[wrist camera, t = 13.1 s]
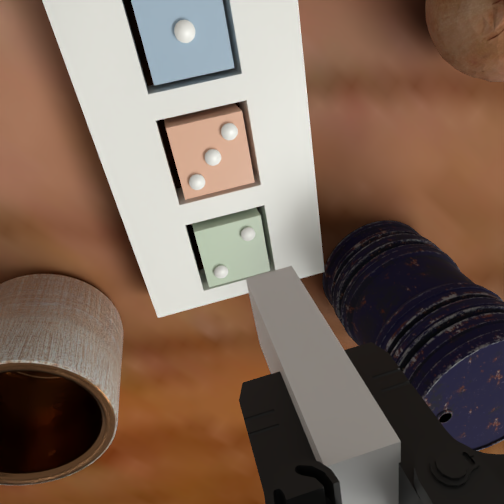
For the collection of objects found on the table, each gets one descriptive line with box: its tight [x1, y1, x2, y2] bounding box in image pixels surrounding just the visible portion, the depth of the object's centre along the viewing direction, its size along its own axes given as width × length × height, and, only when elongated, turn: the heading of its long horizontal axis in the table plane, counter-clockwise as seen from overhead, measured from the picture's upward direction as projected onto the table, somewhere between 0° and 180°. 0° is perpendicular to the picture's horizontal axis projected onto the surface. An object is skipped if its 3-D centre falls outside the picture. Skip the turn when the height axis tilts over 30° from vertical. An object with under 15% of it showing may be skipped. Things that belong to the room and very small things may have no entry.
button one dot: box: [131, 0, 234, 86], centre depth 25 cm, size 5×5×3 cm
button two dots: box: [192, 207, 270, 287], centre depth 32 cm, size 5×5×3 cm
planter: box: [0, 273, 123, 485], centre depth 30 cm, size 11×11×10 cm
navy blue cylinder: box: [323, 221, 504, 451], centre depth 32 cm, size 10×10×15 cm
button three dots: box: [164, 103, 255, 200], centre depth 28 cm, size 5×5×3 cm
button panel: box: [42, 0, 325, 318], centre depth 29 cm, size 13×22×3 cm, turn 9°
